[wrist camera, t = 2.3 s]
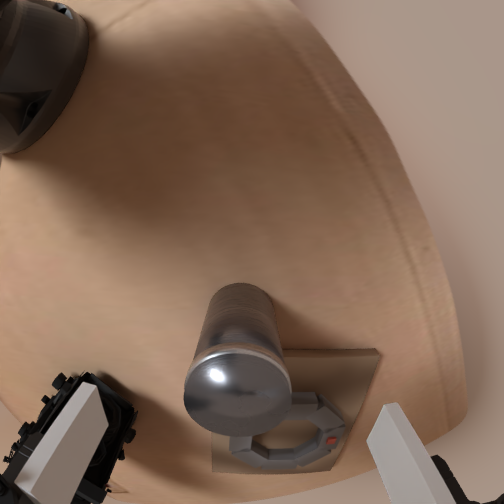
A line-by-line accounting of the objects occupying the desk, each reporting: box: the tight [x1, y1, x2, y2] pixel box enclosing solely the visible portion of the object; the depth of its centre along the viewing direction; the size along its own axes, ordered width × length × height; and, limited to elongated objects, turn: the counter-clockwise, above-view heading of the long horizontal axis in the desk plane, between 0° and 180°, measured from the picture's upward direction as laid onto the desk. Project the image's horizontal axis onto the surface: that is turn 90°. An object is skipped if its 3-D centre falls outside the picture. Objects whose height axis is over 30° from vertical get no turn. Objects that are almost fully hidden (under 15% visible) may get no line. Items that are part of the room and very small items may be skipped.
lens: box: [184, 283, 292, 437], centre depth 17 cm, size 6×5×10 cm
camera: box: [3, 372, 138, 504], centre depth 14 cm, size 10×14×20 cm
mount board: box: [212, 348, 380, 474], centre depth 23 cm, size 18×14×3 cm
